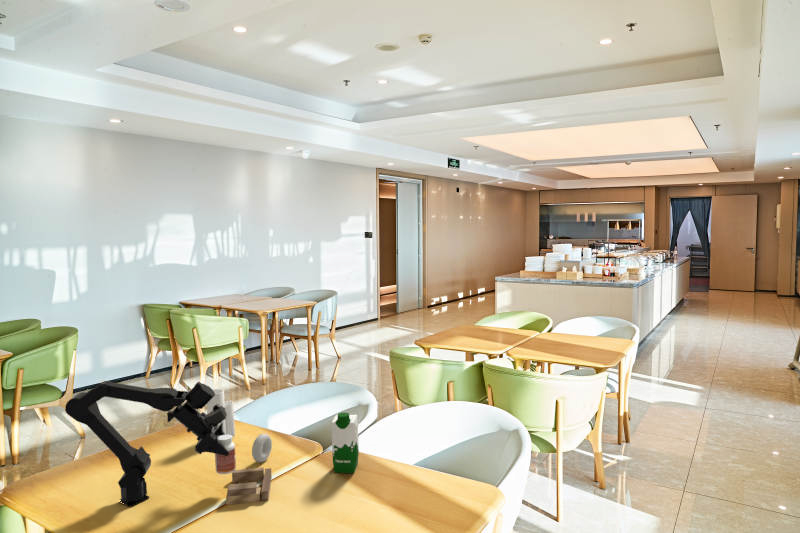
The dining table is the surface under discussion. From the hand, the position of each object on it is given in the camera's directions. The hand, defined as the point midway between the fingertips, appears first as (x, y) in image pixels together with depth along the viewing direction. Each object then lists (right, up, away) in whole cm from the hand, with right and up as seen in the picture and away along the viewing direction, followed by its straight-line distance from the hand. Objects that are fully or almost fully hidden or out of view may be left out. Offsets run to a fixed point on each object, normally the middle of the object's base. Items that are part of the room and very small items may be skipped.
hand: (229, 450), depth 174 cm
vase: (-17, -10, +44) cm, 48 cm away
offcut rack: (+6, -13, +1) cm, 15 cm away
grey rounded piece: (+5, -12, +22) cm, 26 cm away
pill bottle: (-1, -7, 0) cm, 7 cm away
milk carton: (+36, -12, +15) cm, 41 cm away
